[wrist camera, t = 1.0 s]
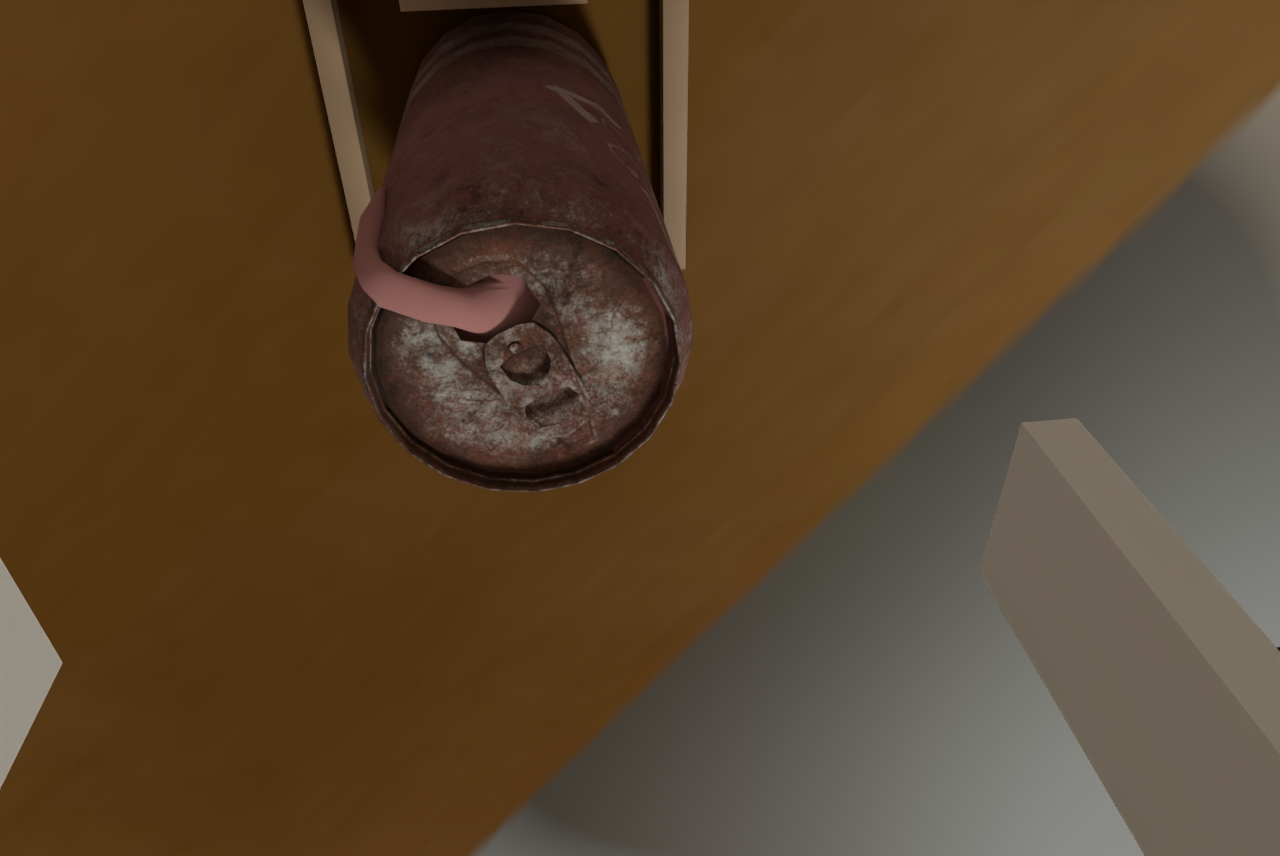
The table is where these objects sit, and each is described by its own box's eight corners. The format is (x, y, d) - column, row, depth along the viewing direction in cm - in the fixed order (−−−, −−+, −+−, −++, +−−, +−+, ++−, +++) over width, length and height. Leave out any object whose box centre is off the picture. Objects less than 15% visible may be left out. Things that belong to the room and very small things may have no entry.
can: (449, -42, 24) (400, 126, 13) (656, 71, 26) (768, 299, 15) (370, 159, 27) (274, 443, 16) (564, 246, 29) (601, 546, 18)
